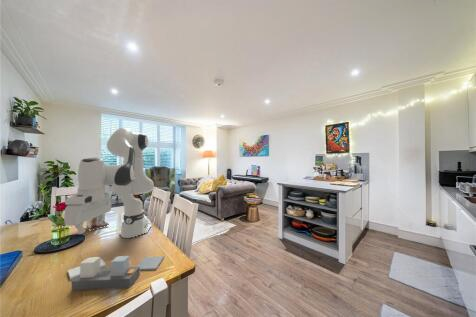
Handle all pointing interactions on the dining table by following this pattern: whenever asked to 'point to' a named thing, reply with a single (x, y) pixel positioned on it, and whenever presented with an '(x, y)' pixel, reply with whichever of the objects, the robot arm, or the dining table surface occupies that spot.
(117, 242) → the dining table surface
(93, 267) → the block
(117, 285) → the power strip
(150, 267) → the rubber mat
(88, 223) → the small white stand
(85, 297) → the dining table surface
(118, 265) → the block
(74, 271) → the external hard drive
